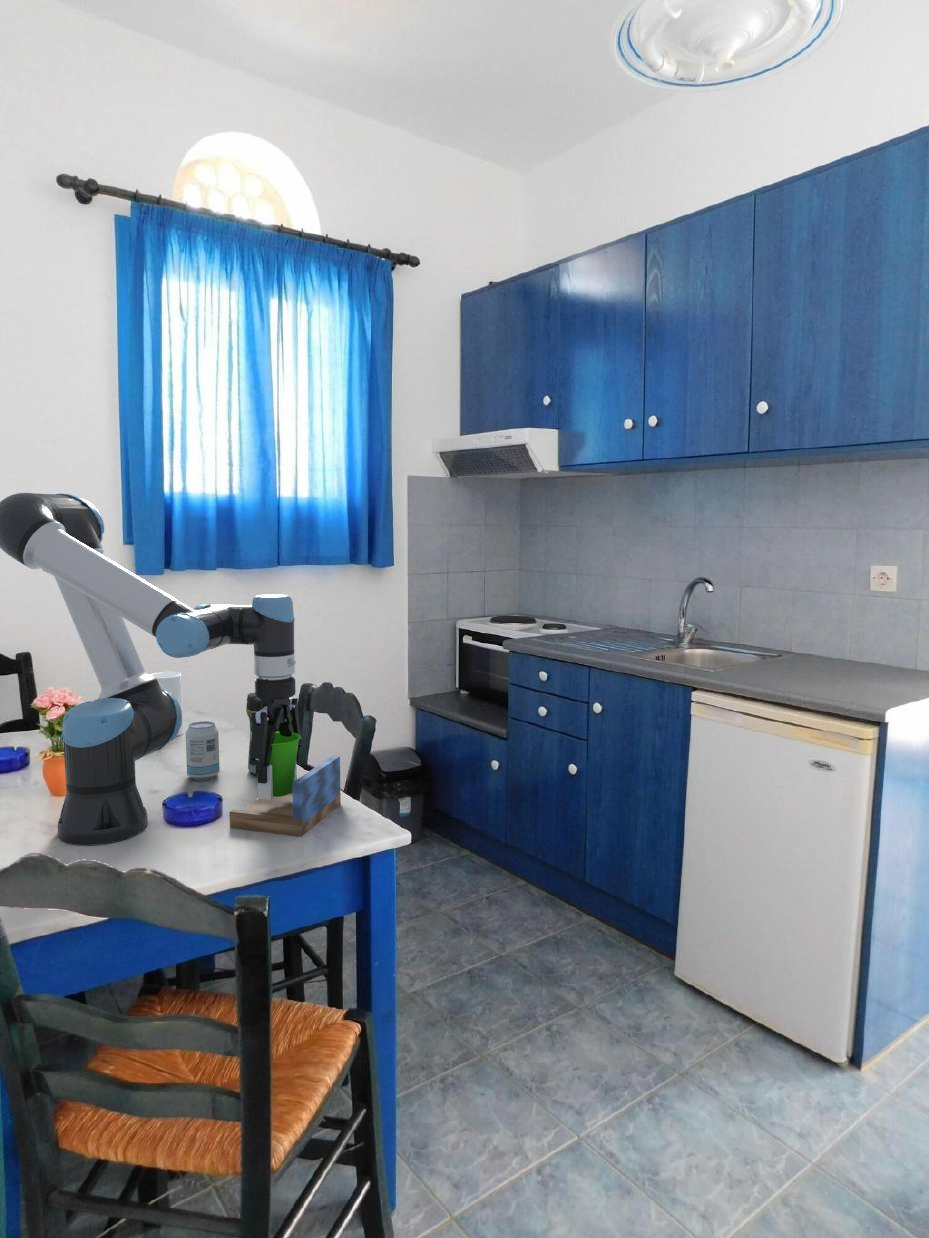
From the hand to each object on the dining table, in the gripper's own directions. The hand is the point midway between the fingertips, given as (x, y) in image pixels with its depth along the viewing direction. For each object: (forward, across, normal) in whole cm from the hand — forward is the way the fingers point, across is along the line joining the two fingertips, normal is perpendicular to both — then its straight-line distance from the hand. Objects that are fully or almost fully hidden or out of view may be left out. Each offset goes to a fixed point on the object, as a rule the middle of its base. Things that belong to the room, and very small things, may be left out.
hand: (277, 790), depth 156 cm
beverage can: (+5, +16, +27) cm, 32 cm away
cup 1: (+5, +45, +57) cm, 73 cm away
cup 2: (+1, 0, 0) cm, 1 cm away
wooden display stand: (+5, 0, -2) cm, 5 cm away
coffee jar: (+5, +24, +15) cm, 29 cm away
